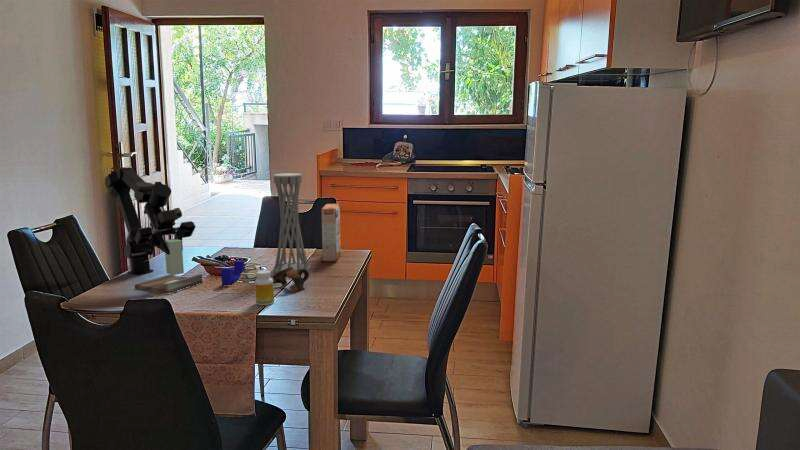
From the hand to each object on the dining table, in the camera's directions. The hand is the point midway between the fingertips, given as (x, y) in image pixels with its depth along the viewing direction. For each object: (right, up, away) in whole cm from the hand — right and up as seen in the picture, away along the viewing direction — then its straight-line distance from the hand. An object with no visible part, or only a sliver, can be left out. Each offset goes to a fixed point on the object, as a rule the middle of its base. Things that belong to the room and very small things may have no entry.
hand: (175, 252), depth 194 cm
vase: (+34, -8, +24) cm, 42 cm away
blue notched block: (+16, -11, +10) cm, 21 cm away
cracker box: (+47, -4, +42) cm, 63 cm away
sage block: (-1, -7, +2) cm, 7 cm away
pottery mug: (+38, -12, 0) cm, 40 cm away
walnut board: (-4, -11, +5) cm, 13 cm away
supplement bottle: (+33, -15, -15) cm, 39 cm away
